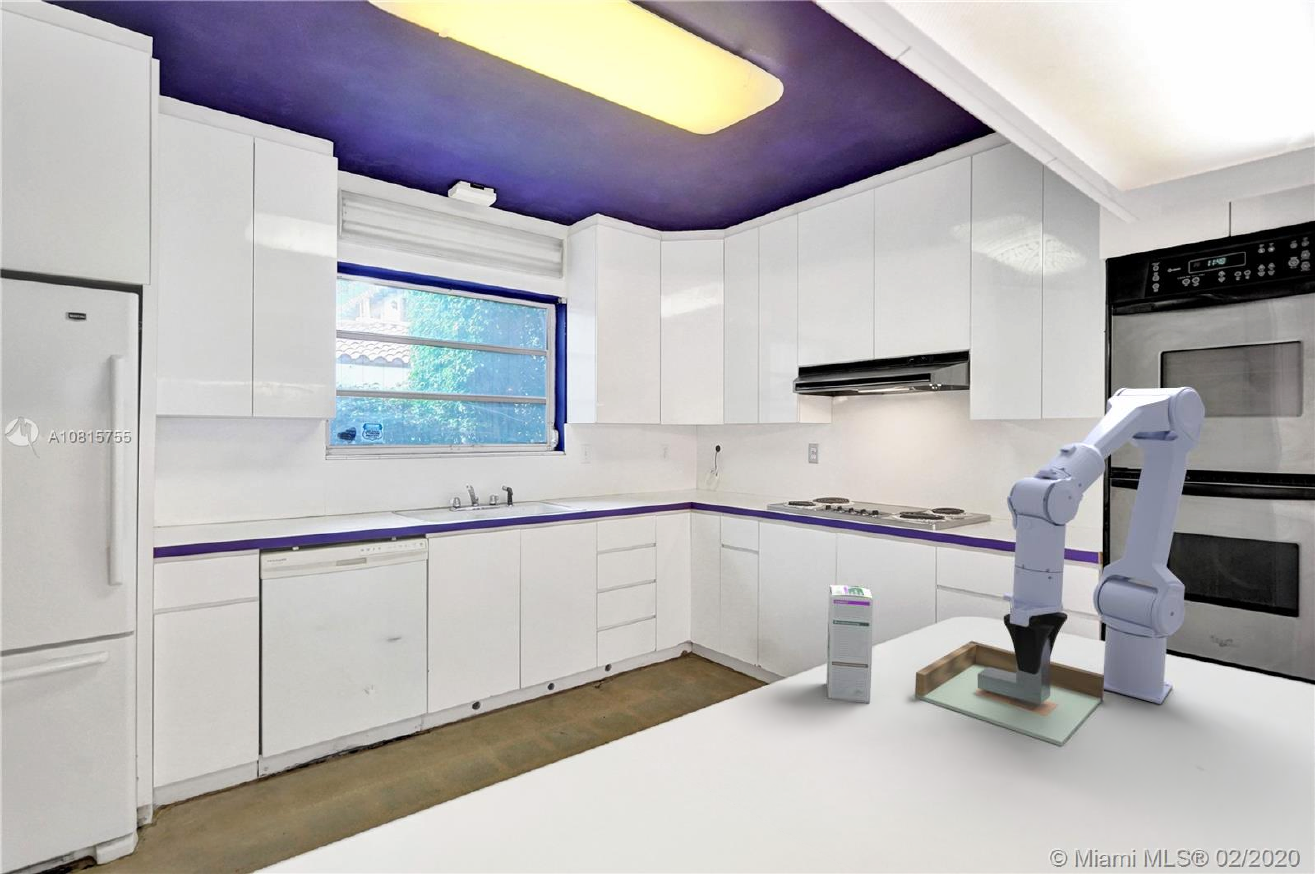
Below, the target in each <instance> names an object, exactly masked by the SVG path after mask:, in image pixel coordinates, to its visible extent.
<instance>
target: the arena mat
mask: <svg viewBox="0 0 1315 874" xmlns="http://www.w3.org/2000/svg"><path fill="white" fill-rule="evenodd" d="M985 668H987V667H986V666H983V665H979V664H974V665H972V666H971V667H969V668H968V669H966V670H965V671H963V672H961V673H960V674H958V675H957V676H955V677H954V678H952V679H950V680H949V681H947V682H946V683H944V684H942V685H941V686H939V687H938V688H936V689H935V690H933V691H931V692H930V693H928V694H927V695H925V696H922V698H921V695H918V696H917V695H916V694H915V693H914V698H916V696H917V697H918V698H917V699H919V700H922V701H926V702H928V703H931V704H935V705H937V706H939V707H943V708H946V709H949V710H951V711H955V712H958V713H961V714H964V715H967V716H970V717H973V718H976V719H979V720H982V721H985V722H987V723H990V724H994V725H997V726H1001V727H1003V728H1005V729H1009V730H1012V731H1015V732H1018V733H1020V734H1022V735H1023V734H1024V735H1027V736H1029V737H1033V738H1036V739H1039V740H1042V741H1045V742H1048V743H1050V744H1053V745H1057V746H1059V747H1063V745H1065V743H1066V742H1067V741H1068V740H1069V739H1070V738H1071V736H1072V735H1073V734H1074V733H1075V732H1076V731H1077V730H1078V728H1080V726H1081V725H1082V724H1083V723H1084V722H1085V721H1086V719H1087V718H1088V717H1089V716H1090V715H1091V714H1092V712H1094V711H1095V709H1096V708H1097V707H1098V706H1099V705H1100V703H1101V702H1102V701H1103V700H1104V697H1103V698H1097V697H1094V696H1090V695H1086V694H1083V693H1079V692H1076V691H1072V690H1069V689H1065V688H1061V687H1058V686H1054V685H1051V684H1050V697H1049V698H1048V699H1046V700H1045V701H1044V702H1043V703H1042V704H1038V703H1034V702H1030V701H1026V700H1022V699H1018V698H1014V697H1011V696H1007V695H1003V694H999V693H995V692H991V691H987V690H983V689H979V688H978V673H979V672H981V671H982V670H984V669H985ZM1101 699H1103V700H1101Z"/></svg>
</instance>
